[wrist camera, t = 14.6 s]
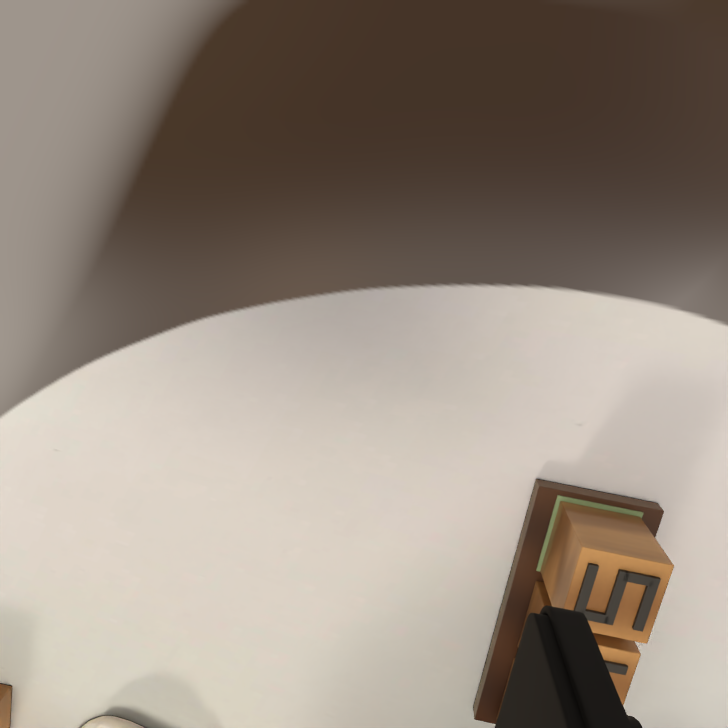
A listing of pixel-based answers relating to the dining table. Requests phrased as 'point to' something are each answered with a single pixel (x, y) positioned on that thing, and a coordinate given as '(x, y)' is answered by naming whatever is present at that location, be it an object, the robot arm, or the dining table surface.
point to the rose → (110, 723)
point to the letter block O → (5, 705)
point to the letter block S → (606, 570)
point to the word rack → (532, 596)
